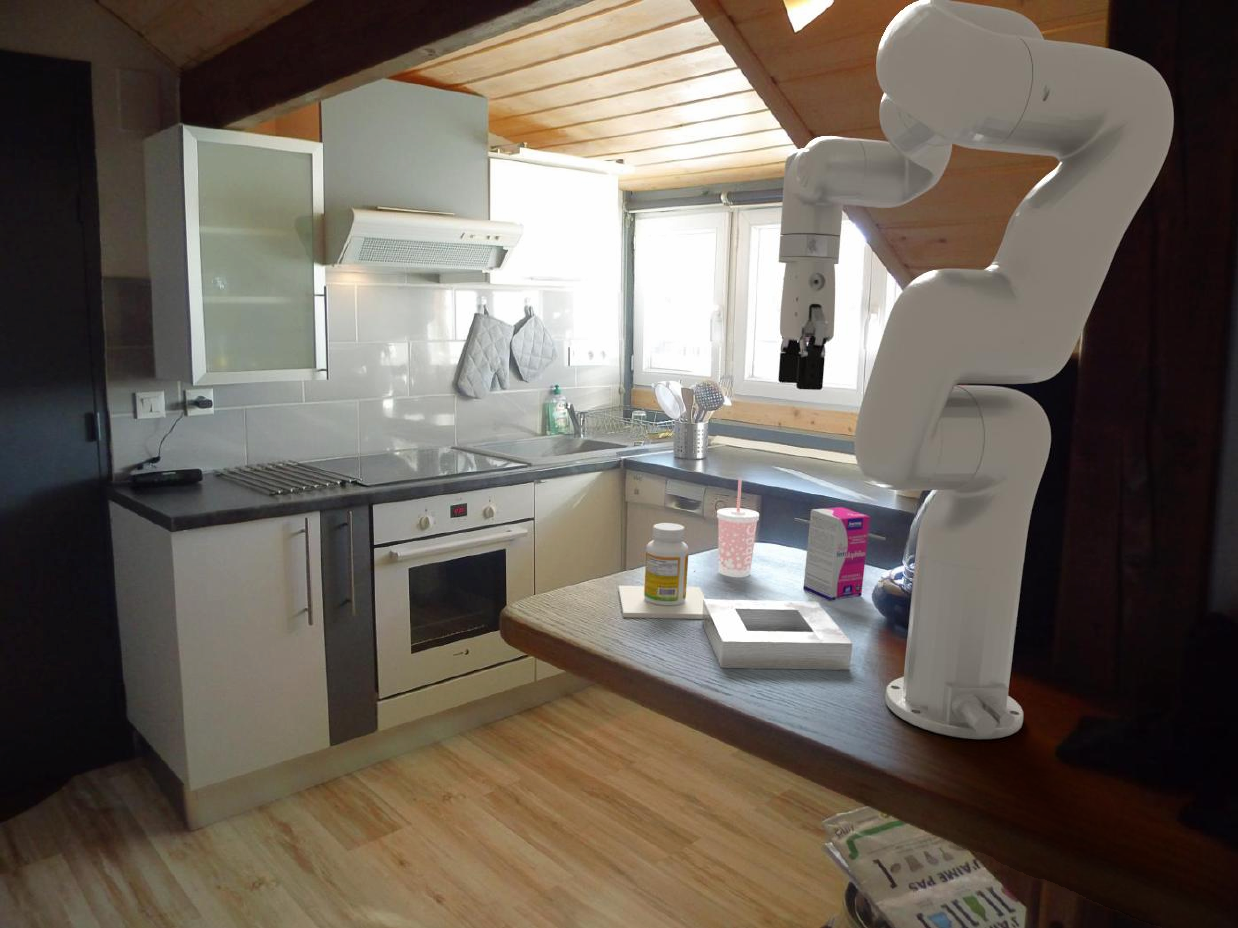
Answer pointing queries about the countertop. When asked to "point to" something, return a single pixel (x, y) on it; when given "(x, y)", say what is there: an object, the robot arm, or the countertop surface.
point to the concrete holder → (775, 635)
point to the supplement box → (836, 553)
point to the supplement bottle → (666, 566)
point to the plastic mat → (641, 608)
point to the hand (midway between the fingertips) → (799, 385)
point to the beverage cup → (736, 538)
